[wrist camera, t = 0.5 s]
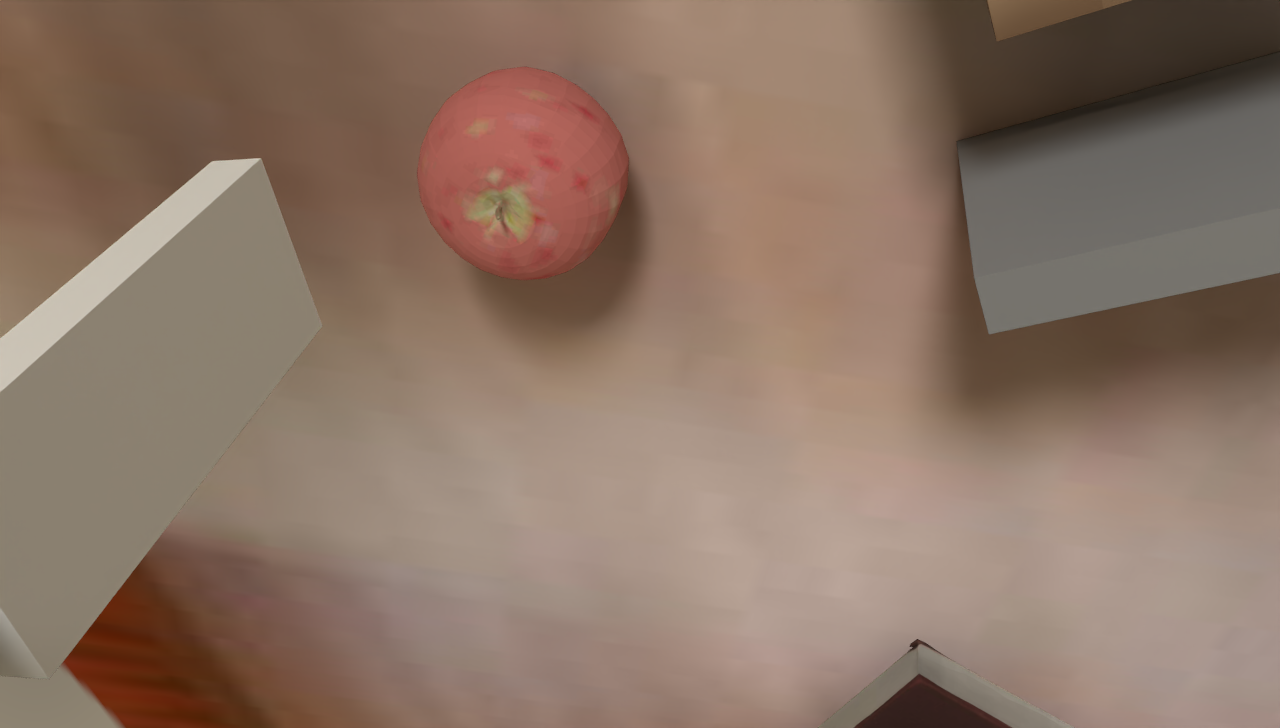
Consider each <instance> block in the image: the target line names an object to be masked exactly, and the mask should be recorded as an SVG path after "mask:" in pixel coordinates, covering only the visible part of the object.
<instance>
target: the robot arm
mask: <svg viewBox="0 0 1280 728" xmlns="http://www.w3.org/2000/svg"><path fill="white" fill-rule="evenodd" d="M321 327H322V323H321V321H320V318H319V315H318V312H317V310H316V307H315V304H314V301H313V299H312V296H311V293H310V291H309V288H308V285H307V282H306V280H305V277H304V274H303V271H302V269H301V266H300V263H299V260H298V258H297V255H296V252H295V249H294V247H293V244H292V241H291V239H290V236H289V233H288V230H287V228H286V225H285V222H284V219H283V217H282V214H281V211H280V208H279V206H278V203H277V200H276V197H275V195H274V192H273V189H272V187H271V184H270V181H269V178H268V176H267V173H266V170H265V167H264V165H263V162H262V159H261V158H256V159H240V160H224V161H212V162H211V163H209V164H208V165H207V166H206V167H205V168H204V169H202V170H201V171H200V172H199V173H198V174H196V175H195V176H194V177H193V178H192V179H190V180H189V181H188V182H187V183H186V184H184V185H183V186H182V187H181V188H180V189H178V190H177V191H176V192H175V193H174V194H172V195H171V196H170V197H169V198H168V199H166V200H165V201H164V202H163V203H162V204H160V205H159V206H158V207H157V208H156V209H155V210H153V211H152V212H151V213H150V214H149V215H147V216H146V217H145V218H144V219H143V220H141V221H140V222H139V223H138V224H137V225H135V226H134V227H133V228H132V229H131V230H129V231H128V232H127V233H126V234H125V235H123V236H122V237H121V238H120V239H119V240H117V241H116V242H115V243H114V244H113V245H111V246H110V247H109V248H108V249H107V250H105V251H104V252H103V253H102V254H101V255H100V256H98V257H97V258H96V259H95V260H94V261H92V262H91V263H90V264H89V265H88V266H86V267H85V268H84V269H83V270H82V271H80V272H79V273H78V274H77V275H76V276H74V277H73V278H72V279H71V280H70V281H68V282H67V283H66V284H65V285H64V286H62V287H61V288H60V289H59V290H58V291H56V292H55V293H54V294H53V295H52V296H50V297H49V298H48V299H47V300H46V301H45V302H43V303H42V304H41V305H40V306H39V307H37V308H36V309H35V310H34V311H33V312H31V313H30V314H29V315H28V316H27V317H25V318H24V319H23V320H22V321H21V322H19V323H18V324H17V325H16V326H15V327H13V328H12V329H11V330H10V331H9V332H7V333H6V334H5V335H4V336H3V337H1V338H0V676H9V677H23V678H38V679H50V678H51V677H52V675H53V674H54V673H55V671H56V670H57V669H58V668H59V666H60V665H61V664H62V662H63V661H64V660H65V659H66V657H67V656H68V655H69V653H70V652H71V651H72V650H73V648H74V647H75V646H76V644H77V643H78V642H79V640H80V639H81V638H82V637H83V635H84V634H85V633H86V631H87V630H88V629H89V628H90V626H91V625H92V624H93V622H94V621H95V620H96V618H97V617H98V616H99V615H100V613H101V612H102V611H103V609H104V608H105V607H106V606H107V604H108V603H109V602H110V600H111V599H112V598H113V596H114V595H115V594H116V593H117V591H118V590H119V589H120V587H121V586H122V585H123V584H124V582H125V581H126V580H127V578H128V577H129V576H130V574H131V573H132V572H133V571H134V569H135V568H136V567H137V565H138V564H139V563H140V562H141V560H142V559H143V558H144V556H145V555H146V554H147V552H148V551H149V550H150V549H151V547H152V546H153V545H154V543H155V542H156V541H157V540H158V538H159V537H160V536H161V534H162V533H163V532H164V530H165V529H166V528H167V527H168V525H169V524H170V523H171V521H172V520H173V519H174V518H175V516H176V515H177V514H178V512H179V511H180V510H181V508H182V507H183V506H184V505H185V503H186V502H187V501H188V499H189V498H190V497H191V496H192V494H193V493H194V492H195V490H196V489H197V488H198V487H199V485H200V484H201V483H202V481H203V480H204V479H205V477H206V476H207V475H208V474H209V472H210V471H211V470H212V468H213V467H214V466H215V465H216V463H217V462H218V461H219V459H220V458H221V457H222V455H223V454H224V453H225V452H226V450H227V449H228V448H229V446H230V445H231V444H232V443H233V441H234V440H235V439H236V437H237V436H238V435H239V433H240V432H241V431H242V430H243V428H244V427H245V426H246V424H247V423H248V422H249V421H250V419H251V418H252V417H253V415H254V414H255V413H256V411H257V410H258V409H259V408H260V406H261V405H262V404H263V402H264V401H265V400H266V399H267V397H268V396H269V395H270V393H271V392H272V391H273V389H274V388H275V387H276V386H277V384H278V383H279V382H280V380H281V379H282V378H283V377H284V375H285V374H286V373H287V371H288V370H289V369H290V367H291V366H292V365H293V364H294V362H295V361H296V360H297V358H298V357H299V356H300V355H301V353H302V352H303V351H304V349H305V348H306V347H307V345H308V344H309V343H310V342H311V340H312V339H313V338H314V336H315V335H316V334H317V333H318V331H319V330H320V329H321Z"/></svg>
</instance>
